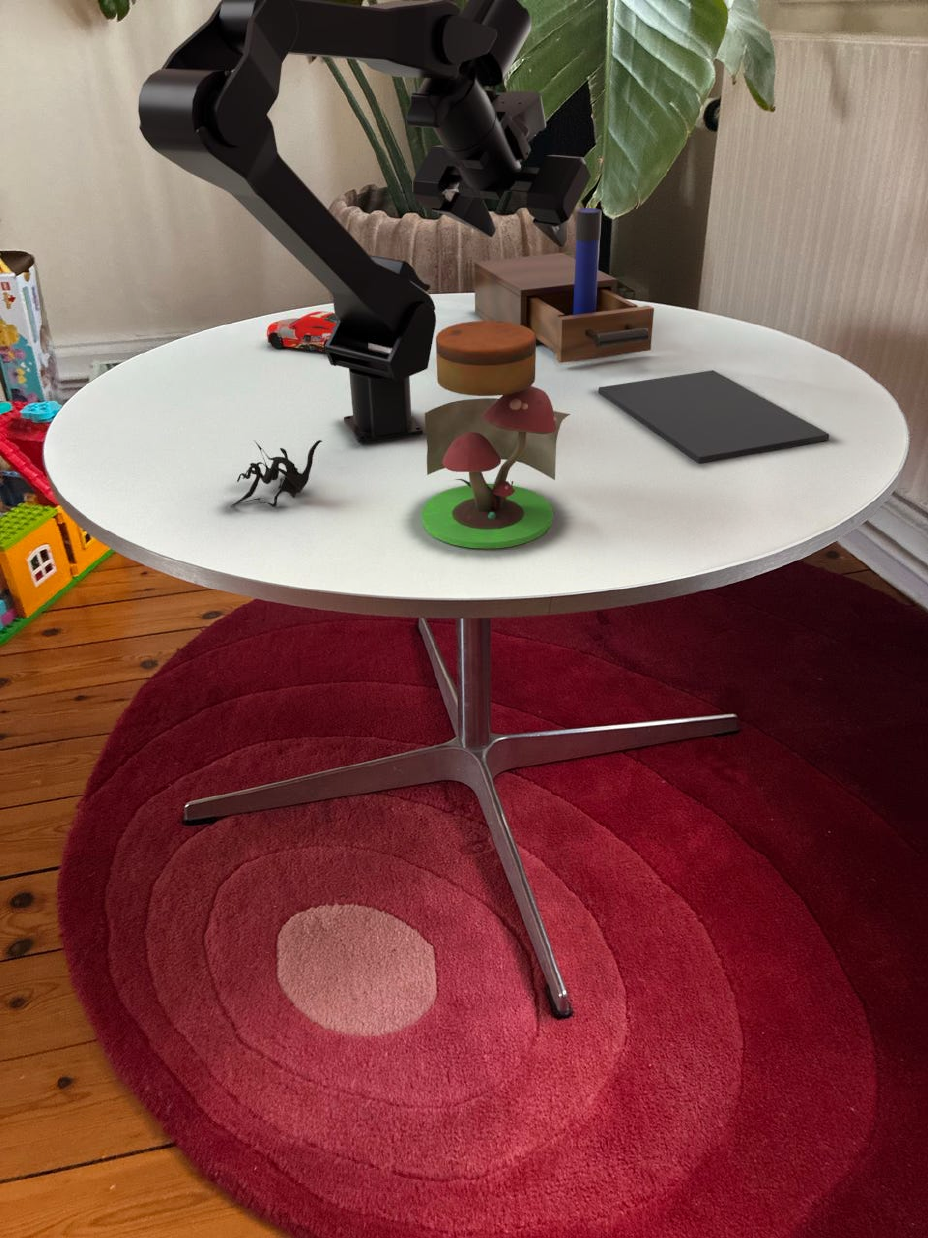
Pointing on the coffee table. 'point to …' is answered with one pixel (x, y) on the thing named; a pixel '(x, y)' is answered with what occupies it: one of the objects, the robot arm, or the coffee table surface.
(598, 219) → the marker
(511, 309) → the cabinet
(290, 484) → the creature
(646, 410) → the desk mat
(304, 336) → the race car
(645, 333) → the drawer
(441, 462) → the mushroom figurine
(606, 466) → the coffee table surface
